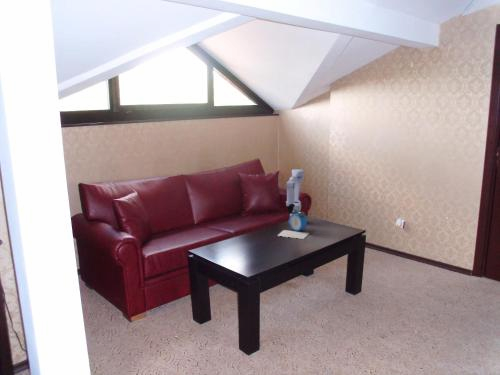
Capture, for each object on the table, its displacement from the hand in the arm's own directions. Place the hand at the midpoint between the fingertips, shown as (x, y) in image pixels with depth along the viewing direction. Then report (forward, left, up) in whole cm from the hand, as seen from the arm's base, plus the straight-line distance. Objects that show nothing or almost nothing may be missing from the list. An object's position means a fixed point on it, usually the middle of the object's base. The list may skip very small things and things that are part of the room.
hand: (290, 213), depth 320 cm
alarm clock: (+9, +9, -10) cm, 16 cm away
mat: (+19, +9, -10) cm, 23 cm away
